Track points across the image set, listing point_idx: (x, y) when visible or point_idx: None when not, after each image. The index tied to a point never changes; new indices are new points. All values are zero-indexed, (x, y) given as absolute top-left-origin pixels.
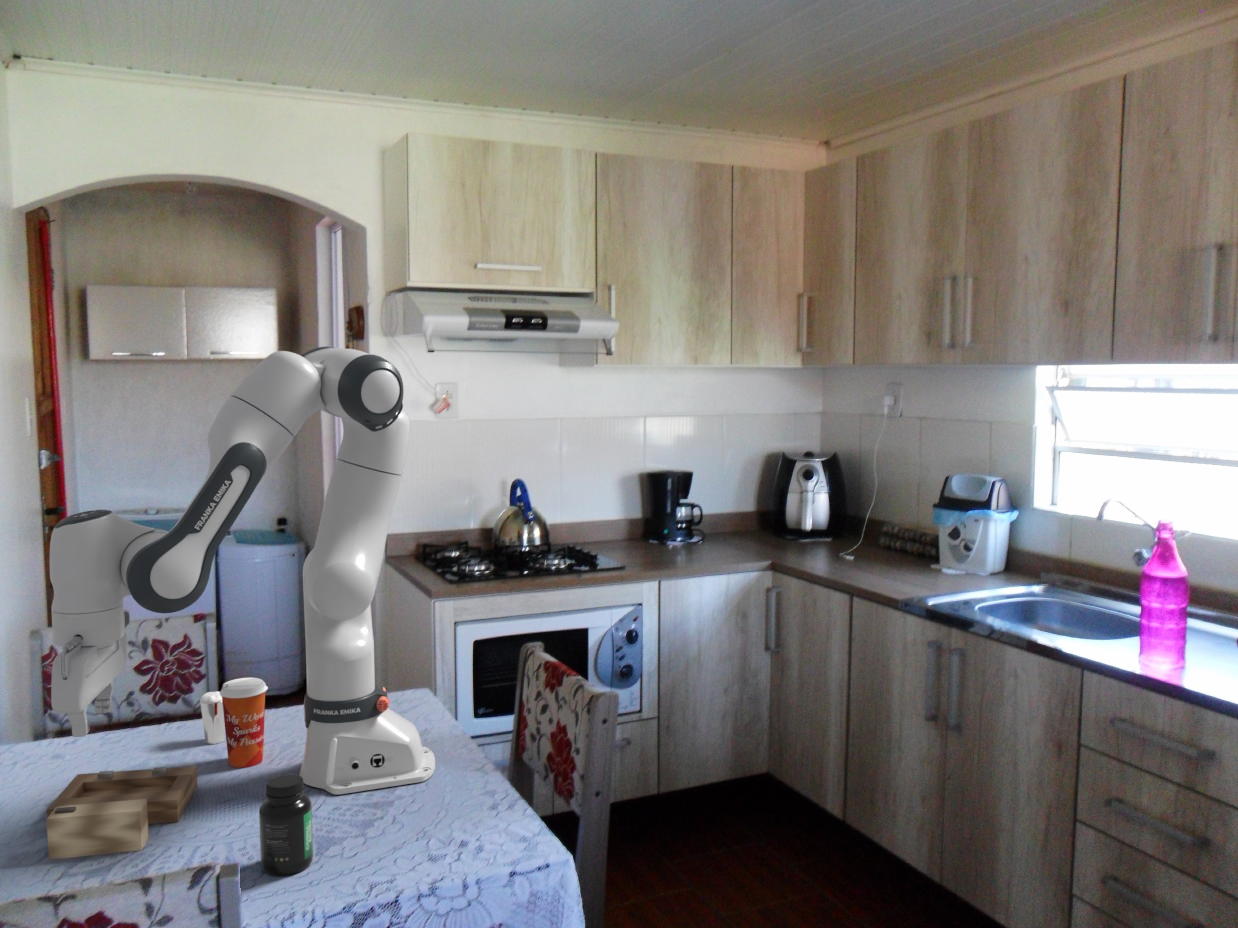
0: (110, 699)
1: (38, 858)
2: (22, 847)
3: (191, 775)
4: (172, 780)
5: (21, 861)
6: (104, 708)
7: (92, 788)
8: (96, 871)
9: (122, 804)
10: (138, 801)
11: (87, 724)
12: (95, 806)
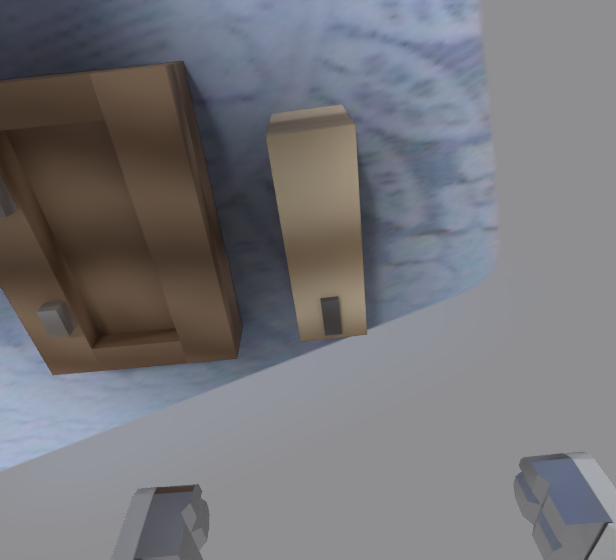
0: (129, 551)
1: None
2: None
3: None
4: (2, 147)
5: None
6: (192, 514)
7: (92, 323)
8: (430, 171)
9: (302, 196)
10: (284, 156)
11: (599, 506)
12: (308, 260)
